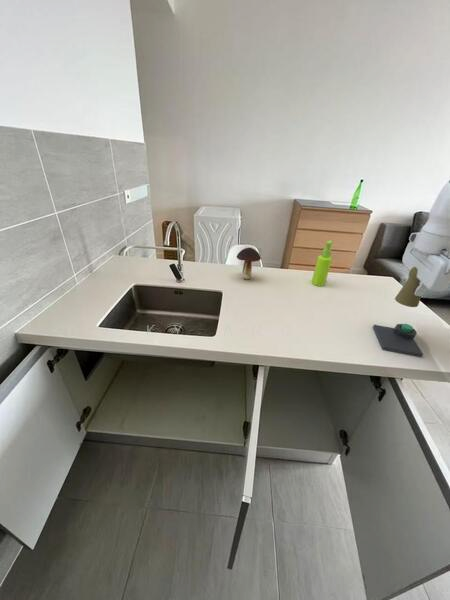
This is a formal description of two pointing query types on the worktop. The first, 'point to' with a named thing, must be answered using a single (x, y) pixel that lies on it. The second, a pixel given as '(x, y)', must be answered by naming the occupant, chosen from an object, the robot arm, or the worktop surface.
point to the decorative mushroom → (248, 260)
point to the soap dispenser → (322, 266)
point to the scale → (397, 340)
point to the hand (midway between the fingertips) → (412, 289)
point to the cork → (409, 290)
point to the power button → (407, 328)
